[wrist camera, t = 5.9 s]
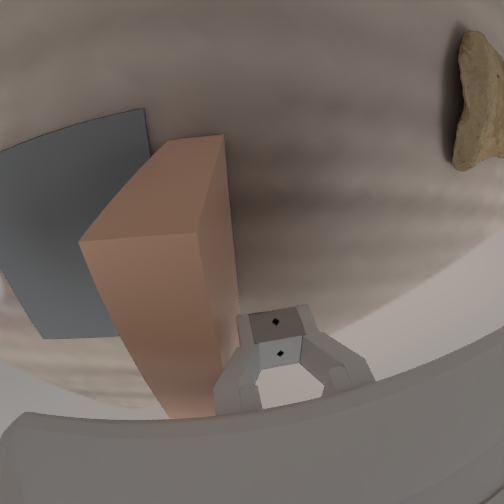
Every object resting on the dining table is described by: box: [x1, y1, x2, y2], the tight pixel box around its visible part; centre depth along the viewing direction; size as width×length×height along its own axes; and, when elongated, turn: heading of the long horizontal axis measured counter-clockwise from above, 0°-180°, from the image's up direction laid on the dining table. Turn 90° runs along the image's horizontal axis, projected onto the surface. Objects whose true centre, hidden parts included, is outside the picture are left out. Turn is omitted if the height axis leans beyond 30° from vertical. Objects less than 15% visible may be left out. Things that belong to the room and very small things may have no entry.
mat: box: [0, 108, 151, 339], centre depth 17 cm, size 14×16×1 cm
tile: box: [78, 134, 240, 419], centre depth 14 cm, size 3×12×10 cm, turn 3°
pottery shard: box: [452, 31, 504, 171], centre depth 14 cm, size 11×4×10 cm
